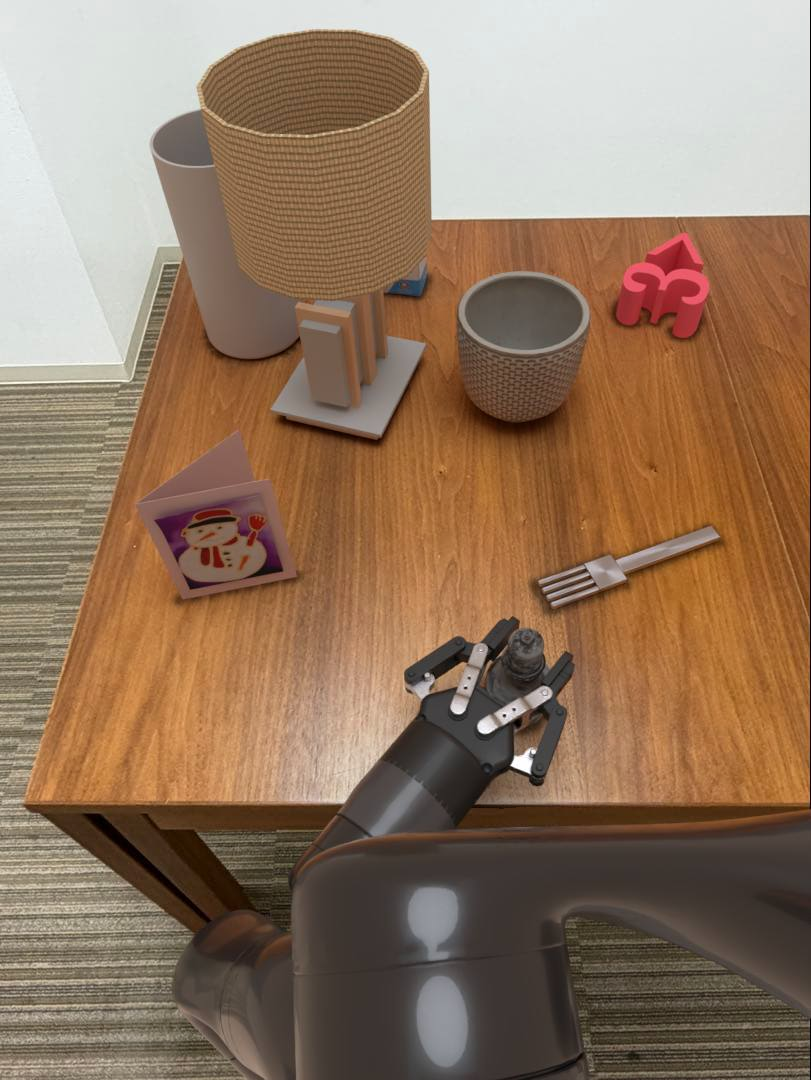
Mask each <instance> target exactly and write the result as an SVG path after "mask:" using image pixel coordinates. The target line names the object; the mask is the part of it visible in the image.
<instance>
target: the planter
mask: <svg viewBox="0 0 811 1080" xmlns="http://www.w3.org/2000/svg"><path fill="white" fill-rule="evenodd" d="M591 317H592V315H591V309H590V305H589V303H588V300H587V299H586V298H585V296H584V294H582V292H581V291H580V290H579V289H578V288H576V287H575V286H574V285H572V284H571V283H569V282H567V281H566V280H564V279H562V278H560V277H557V276H554V275H551V274H548V273H545V272H537V271H531V270H528V271H527V270H515V271H506V272H500V273H497V274H493V275H491V276H488V277H485V278H483V279H481V280H479V281H477V282H476V283H474V284H473V285H471V286H470V287H469V288H468V289H467V290H466V291H465V292H464V293H463V295H462V296H461V298H460V300H459V302H458V306H457V310H456V338H457V339H456V340H457V354H458V355H457V356H458V363H459V370H460V375H461V380H462V384H463V388H464V390H465V393H466V394H467V396H468V398H469V399H470V400H471V402H472V403H473V404H474V405H475V407H477V408H478V409H479V410H481V411H482V412H483V413H485V414H486V415H489V416H491V417H493V418H496V419H498V420H500V421H503V422H506V423H513V424H517V423H526V422H529V421H534V420H537V419H538V420H539V419H541V418H543V417H546V416H548V415H550V414H551V413H553V412H555V411H556V410H557V409H558V408H560V406H562V404H563V403H564V402H565V401H566V400H567V398H568V397H569V395H570V393H571V391H572V389H573V387H574V385H575V382H576V379H577V376H578V373H579V370H580V368H581V364H582V361H583V357H584V354H585V350H586V345H587V341H588V337H589V334H590V329H591Z"/></svg>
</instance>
